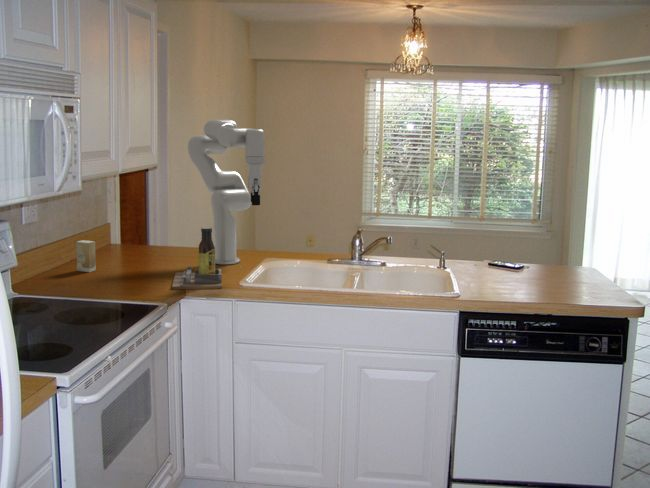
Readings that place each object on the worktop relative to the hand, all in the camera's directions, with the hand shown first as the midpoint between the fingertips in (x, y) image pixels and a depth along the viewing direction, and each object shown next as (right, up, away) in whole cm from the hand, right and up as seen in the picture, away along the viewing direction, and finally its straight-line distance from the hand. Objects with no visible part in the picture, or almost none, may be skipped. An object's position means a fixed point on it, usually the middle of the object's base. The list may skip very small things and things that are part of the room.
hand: (255, 203), depth 273 cm
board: (-21, -31, -11) cm, 39 cm away
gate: (-24, -30, -14) cm, 41 cm away
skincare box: (-69, -27, +4) cm, 74 cm away
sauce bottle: (-17, -30, -12) cm, 37 cm away
